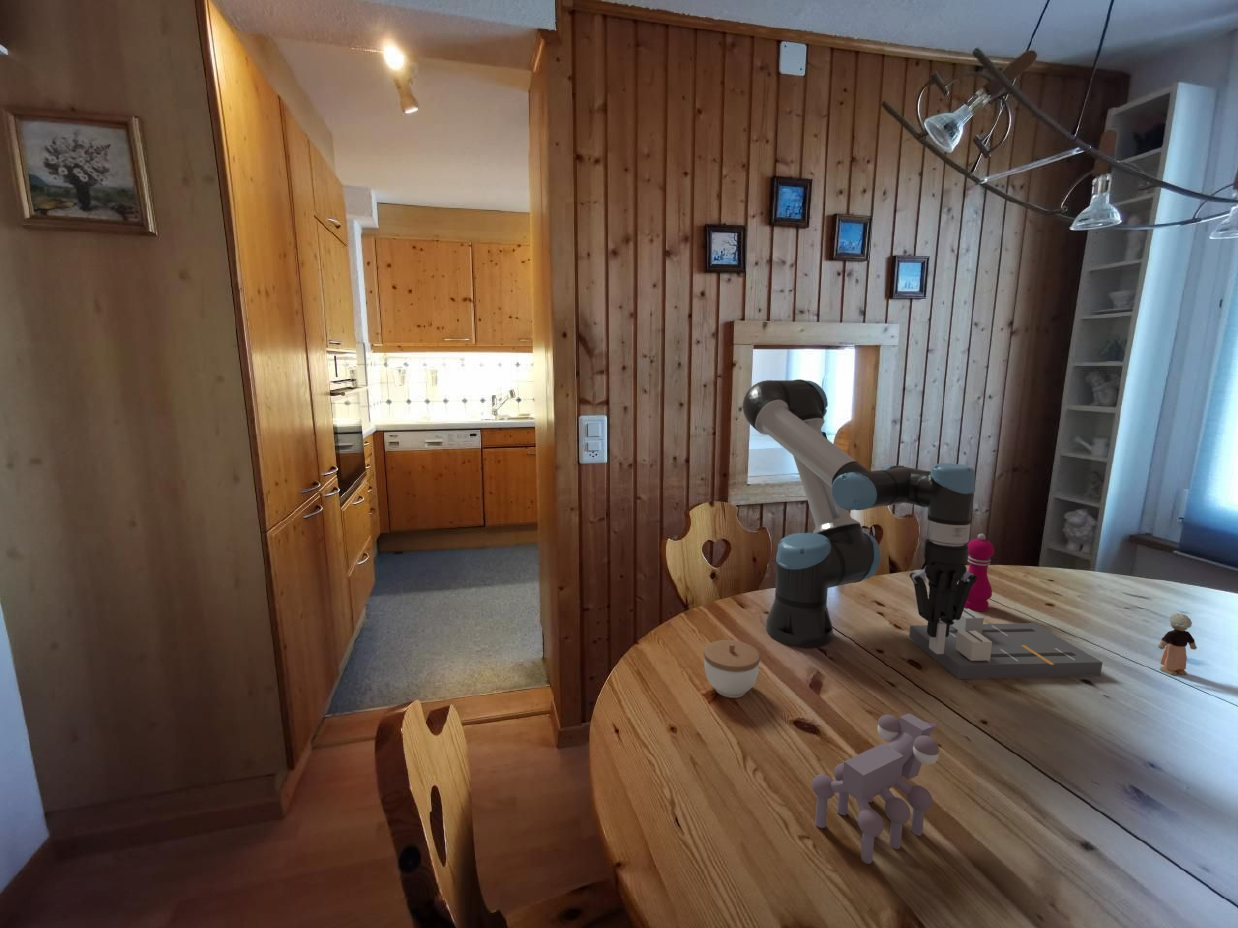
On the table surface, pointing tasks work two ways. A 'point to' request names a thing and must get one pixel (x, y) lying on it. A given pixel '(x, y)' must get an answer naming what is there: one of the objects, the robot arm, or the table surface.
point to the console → (1013, 654)
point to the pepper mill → (979, 573)
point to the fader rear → (969, 622)
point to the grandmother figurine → (1176, 645)
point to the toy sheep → (883, 781)
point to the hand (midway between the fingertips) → (936, 650)
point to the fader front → (973, 645)
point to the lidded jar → (731, 667)
